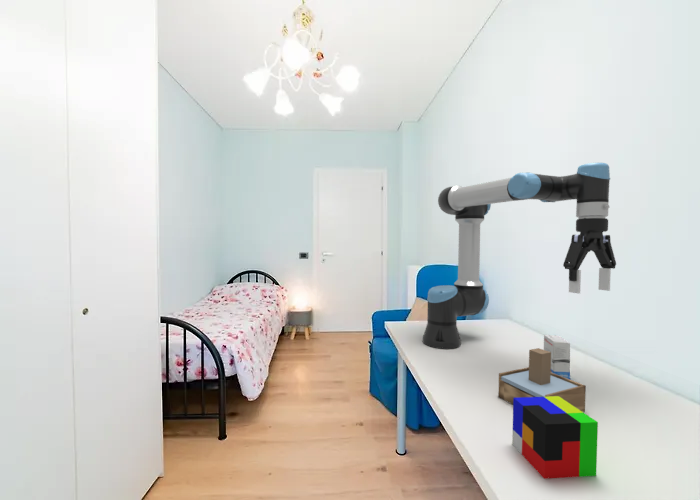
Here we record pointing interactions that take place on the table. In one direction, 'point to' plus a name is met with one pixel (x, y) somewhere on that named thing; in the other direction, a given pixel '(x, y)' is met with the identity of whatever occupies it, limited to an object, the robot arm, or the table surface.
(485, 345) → the table surface
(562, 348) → the ink box
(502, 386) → the oak box
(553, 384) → the cover plate
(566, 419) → the puzzle toy
